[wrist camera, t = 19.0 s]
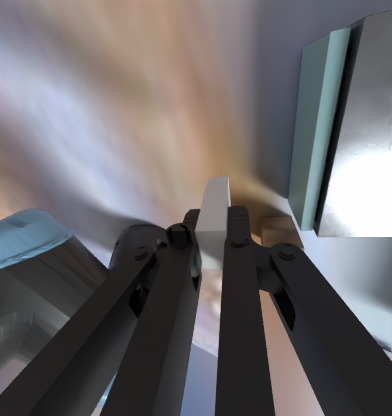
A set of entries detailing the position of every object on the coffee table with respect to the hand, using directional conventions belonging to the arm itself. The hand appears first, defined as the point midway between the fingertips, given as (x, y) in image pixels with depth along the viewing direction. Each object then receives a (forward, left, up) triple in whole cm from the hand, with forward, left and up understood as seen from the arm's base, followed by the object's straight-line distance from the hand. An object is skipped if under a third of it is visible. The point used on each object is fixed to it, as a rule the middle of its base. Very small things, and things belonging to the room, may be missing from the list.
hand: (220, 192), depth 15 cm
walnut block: (+7, -14, -13) cm, 20 cm away
